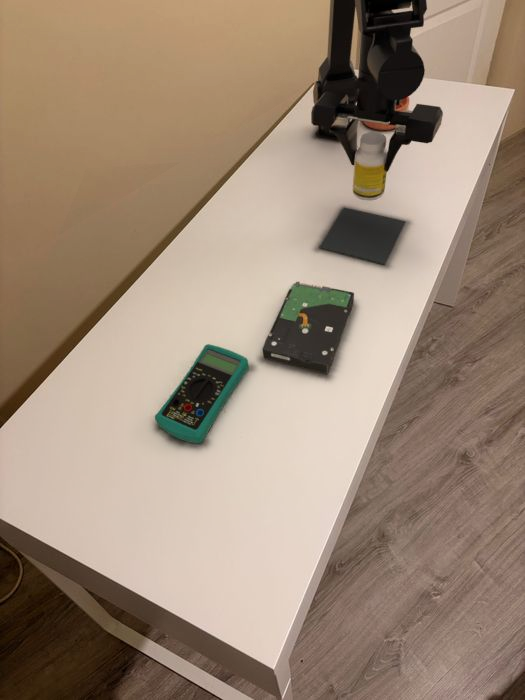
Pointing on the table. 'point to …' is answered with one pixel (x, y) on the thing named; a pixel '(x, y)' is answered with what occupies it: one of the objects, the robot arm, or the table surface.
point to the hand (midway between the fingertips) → (370, 167)
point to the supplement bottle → (370, 167)
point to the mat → (363, 235)
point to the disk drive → (309, 327)
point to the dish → (402, 107)
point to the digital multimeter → (202, 393)
